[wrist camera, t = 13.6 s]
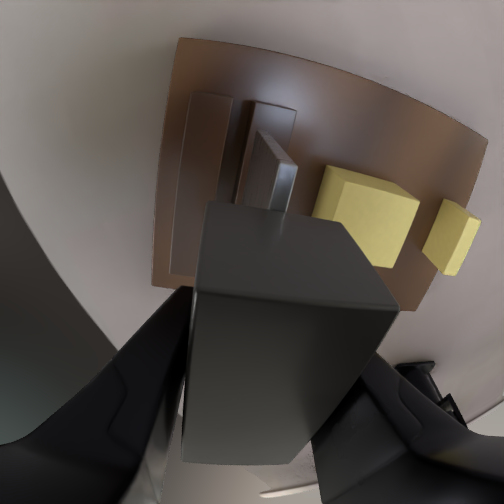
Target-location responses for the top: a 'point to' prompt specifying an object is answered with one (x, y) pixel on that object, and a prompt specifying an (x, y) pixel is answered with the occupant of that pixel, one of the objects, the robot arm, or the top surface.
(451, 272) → the butter slice
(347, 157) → the cutting board
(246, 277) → the dark grey block
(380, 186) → the butter stick
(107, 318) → the top surface
